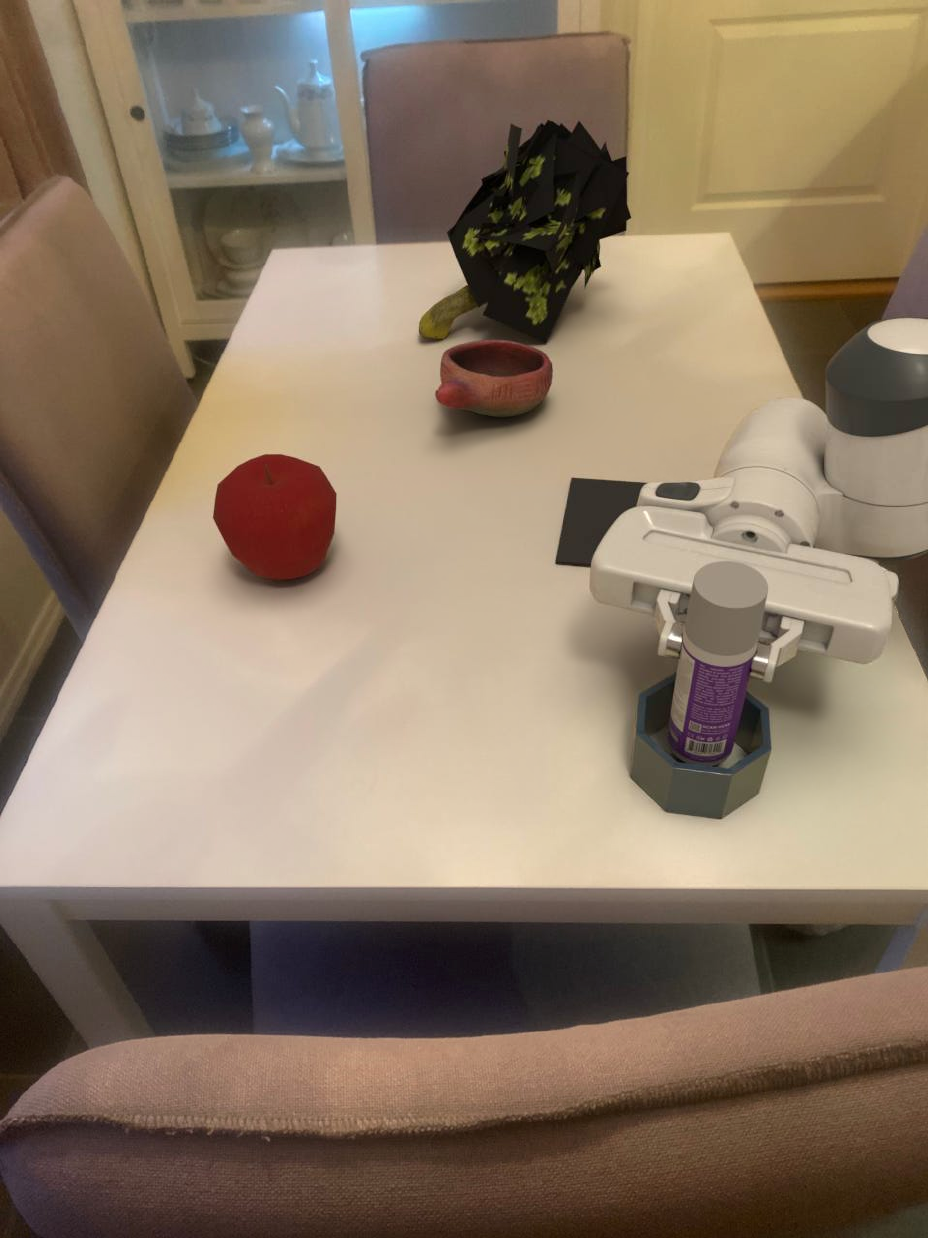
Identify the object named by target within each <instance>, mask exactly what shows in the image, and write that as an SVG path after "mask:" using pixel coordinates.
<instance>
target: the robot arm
mask: <svg viewBox="0 0 928 1238" xmlns="http://www.w3.org/2000/svg"><path fill="white" fill-rule="evenodd" d="M824 375H825V411H824V410H823V409H822V408H821V407H819V406H818V405H817V404H816V403H814V402H812V401H811V400H808V399H805V398H803V397H802V398H800V397H797V396H796V397H795V396H784V397H778V398H774V399H771V400H768V401H766V402H763V403H762V404H760V405H759V406H757V407H756V408H754V409H753V410H751V411H750V412H749V413H747V414H746V415H745V416H744V417H743V418H742V419H741V420H740V421H739V423H738V424H737V425H736V426H735V428H734V430H733V431H732V433H731V435H730V436H729V438H728V440H727V442H726V443H725V446H724V448H723V449H722V451H721V454H720V456H719V458H718V460H717V463H716V464H715V465H716V466H715V469H714V471H713V475H712V478H708V479H700V480H691V481H690V480H689V481H650V482H646V483H647V484H645V485H644V486H643V487H642V489H641V491H640V494H639V498H638V502H637V506H636V507H634V508H631V509H629V510H627V511H625V512H624V513H622V514H621V515H620V516H619V517H618V518H617V519H616V521H615V522H614V523H613V524H612V526H611V527H610V528H609V530H608V531H607V533H606V534H605V536H604V537H603V539H602V540H601V542H600V544H599V545H598V547H597V549H596V551H595V553H594V555H593V558H592V562H591V567H590V569H589V591H590V594H591V596H592V597H593V599H594V600H595V602H597V603H600V604H602V605H607V606H611V607H616V608H619V609H624V610H628V611H632V612H637V613H642V614H646V615H650V616H654V617H653V619H654V620H653V624H654V626H655V629H657V630H656V631H657V632H658V634H659V640H658V649H657V655H658V656H662V657H665V658H666V657H667V658H671V659H673V660H679V659H680V650H681V646H682V637H683V632H684V627H685V621H686V616H687V611H688V606H689V601H690V596H691V591H692V586H693V580H694V576H695V574H696V573H697V571H698V570H699V569H700V568H702V567H703V566H705V565H707V564H710V563H713V562H719V561H732V562H738V563H742V564H745V565H748V566H750V567H752V568H754V569H755V570H757V571H758V572H759V573H761V574H762V575H763V577H764V578H765V579H766V581H767V584H768V593H767V598H766V603H765V608H764V614H763V619H762V624H761V629H760V634H759V639H758V641H761V643H760V642H758V644H757V649H756V653H755V656H754V657H753V659H752V664H751V669H750V672H749V676H748V677H750V678H751V679H754V680H759V681H762V682H765V683H772V681H773V677H774V674H775V670H776V668H778V667H780V666H781V665H783V664H785V663H786V662H787V661H789V660H791V659H793V658H794V657H795V656H796V655H797V651H803V652H807V653H810V654H816V655H819V656H820V655H821V656H824V657H829V658H832V659H837V660H841V661H846V662H850V663H853V664H859V665H868V664H870V663H872V662H874V661H875V660H877V659H879V658H880V657H881V655H882V654H883V652H884V650H885V648H886V645H887V642H888V638H889V636H890V632H891V629H892V625H893V603H894V602H895V601H896V600H897V598H898V595H899V587H900V582H899V577H898V575H897V574H896V573H895V572H893V571H891V570H889V569H888V568H886V567H883V566H889V565H894V564H898V563H904V562H908V561H910V560H913V559H916V558H918V557H921V556H922V555H925V554H927V553H928V317H916V316H901V317H900V316H899V317H889V318H884V319H879V320H875V321H873V322H871V323H869V324H868V325H866V326H865V327H864V328H862V329H861V330H859V331H858V332H857V333H856V334H854V335H853V336H852V337H851V338H850V339H848V340H847V341H846V342H845V343H844V345H842V346H841V348H839V350H837V352H836V353H835V354H834V355H833V356H832V357H831V358H830V360H829V361H828V363H827V364H826V367H825V374H824ZM677 622H680V623H677ZM681 623H684V624H681ZM762 642H766V643H769V644H765V643H762Z"/></svg>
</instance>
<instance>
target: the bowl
mask: <svg viewBox="0 0 928 1238" xmlns="http://www.w3.org/2000/svg"><path fill="white" fill-rule="evenodd" d="M440 359H441V360H440V366H439V367H440V368H439V376H440V377H439V378H440V382H441V384H440V385H439V386H438V388H437V389H436V390H435V393H434V395H435V399H436V401H437V403H439V404H440V405H442V406H443V407H446V408H450V409H454V410H465V411H470V412H472V413H475V414H479V415H483V416H488V417H500V418H501V417H502V418H506V417H515V416H519V415H522V414H525V413H528V412H531V411H532V410H533V409H535V408H536V407H537V406H538V405H539V404H541V403H542V402H543V400H544V399H545V398H546V397H547V395H548V394H549V392H550V388H551V386H552V383H553V377H554V376H553V372H554V368H553V362H552V361H551V360H550V357H549V356H548V354H547V353H546V352H544V351H542V350H540V349H538V348H535V347H533V346H530V345H527V344H524V343H520V342H516V341H512V340H507V339H506V340H505V339H481V340H474V341H468V342H464V343H460V344H457V345H454V346H452V347H450V348H448V349H446V350H445V351H444V352H443V353H442V356H441V358H440Z"/></svg>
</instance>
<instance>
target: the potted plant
mask: <svg viewBox="0 0 928 1238" xmlns="http://www.w3.org/2000/svg"><path fill="white" fill-rule="evenodd" d="M522 131H523V128H522V127H519V126H517V125H515V124H513V123H512V122H511V123H510V126H509V132H508V137H507V138H508V139H507V144H506V150H504V151H503V155H504V163H503V164H502V167H501V168H499V169H498V170H496V171H495V172H493V173H490V174H488V175H486V176H483V177H482V178H481V185H480V187H479V188H478V189H477V191H476V193H475V194H474V195H473V196H472V198H471V199H470V201H469V202H468V203H467V205H466V206H465V208H464V209H463V211H462V213H461V215H460V216H459V218H458V219H457V221H456V222H455V224H454V225H453V226H452V227H451V228H449V230H447V231H446V234H447V237H448V239H449V242H450V245H451V248H452V251H453V253H454V256H455V259H456V261H457V264H458V266H459V269H460V270H461V273H462V275H463V277H464V280H465V282H466V285H465V286H463V287H461V288H460V289H459V290H457V291H455V292H454V293H451V294H449V295H447V296H445V297H444V298H442V299H441V300H439V301H437V302H436V303H435V304H433V305H432V306H431V307H430V308H429V309H428V310H427V311H426V312H425V313H424V314H423V315H422V316H421V319H420V320H419V322H418V333H419V335H420V336H421V337H423V338H428V339H429V338H430V339H435V340H444V339H445V338H446V337H447V336H448V334H449V332H450V330H451V328H452V325H453V322H455V319H457V318H458V317H460V316H462V315H464V314H467V313H468V312H471V311H473V310H475V309H477V308H478V309H479V308H480V307H482V306H483V305H485V304H486V306H485V308H484V310H483V312H482V316H483V317H485V318H488V319H490V320H493V321H495V322H497V323H499V324H501V325H503V326H505V327H508V328H510V329H512V330H514V331H516V332H518V333H520V334H522V335H525V336H526V337H529V338H531V339H533V340H536V341H537V342H539V343H541V344H544V345H547V342H548V341H549V339H550V336H551V335H552V332H553V330H554V329H555V327H556V324H557V322H558V320H559V318H560V316H561V314H562V312H563V309H564V306H565V304H566V302H567V299H568V297H569V295H570V293H571V291H572V288H573V287H574V286H575V284H576V282H577V280H579V278H580V276H581V274H582V272H584V286H583V287H584V288H583V289H584V290H585V289H586V287H587V285H588V283H589V280H590V279H591V277H592V276H593V275H594V273H595V271H596V270H598V269H600V268H602V263H601V259H600V256H601V255H600V254H601V241H600V240H603V239H606V238H610V237H612V236H615V235H618V234H621V233H624V232H626V231H627V227H628V226H627V224H628V223H627V222H628V221H629V220H630V219H632V215H631V212H630V209H629V205H628V177H629V175H630V172H629V171H627V170H628V169H627V156H626V155H625V156H623V157H619V158H617V159H613V160H612V157H611V155H610V152H609V150H608V146H607V142H606V141H605V140H604V143H603V145H602V147H601V148H600V147H599V144H597V142H596V141H595V139H594V138H593V137H592V135H591V134H590V133H589V131H588V130H587V129H586V128H585V126H584V125H583V123H582V122H581V121H580V120H578V121H577V123H576V125H575V126H574V128H573V130H572V131H571V130H570V129H568V128H567V127H566V126H565V125H564V124H563V123H562V122H561V123H560V124H557V123H556V122H554V121H553V120H550V119H547V121H546V122H545V123H543V122H540V124H539V125H537V127H536V128H535V130H534V133H533V134H532V135H531V137H530V138H528V139H527V140H525V141H524V142H523V143H522V144H521V145H520V143H521V138H522Z"/></svg>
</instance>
